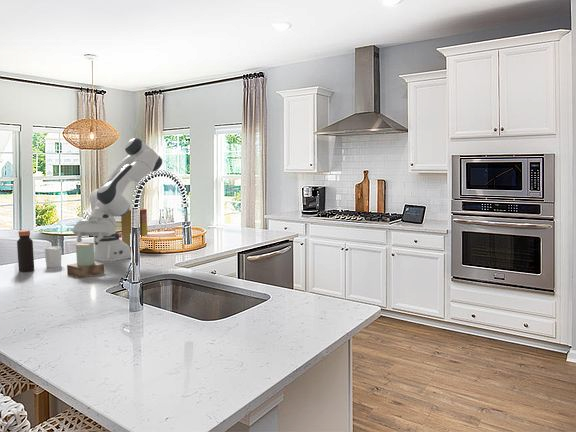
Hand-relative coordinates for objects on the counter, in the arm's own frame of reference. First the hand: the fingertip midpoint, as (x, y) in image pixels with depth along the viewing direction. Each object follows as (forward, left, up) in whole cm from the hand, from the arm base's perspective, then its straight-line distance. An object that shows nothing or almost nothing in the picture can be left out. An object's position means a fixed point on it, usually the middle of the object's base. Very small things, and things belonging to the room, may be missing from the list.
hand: (87, 241), depth 228 cm
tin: (+2, +2, -11) cm, 11 cm away
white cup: (+9, -27, -15) cm, 32 cm away
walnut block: (+2, +2, -16) cm, 16 cm away
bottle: (+22, -25, -15) cm, 36 cm away
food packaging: (-44, -50, -15) cm, 68 cm away
